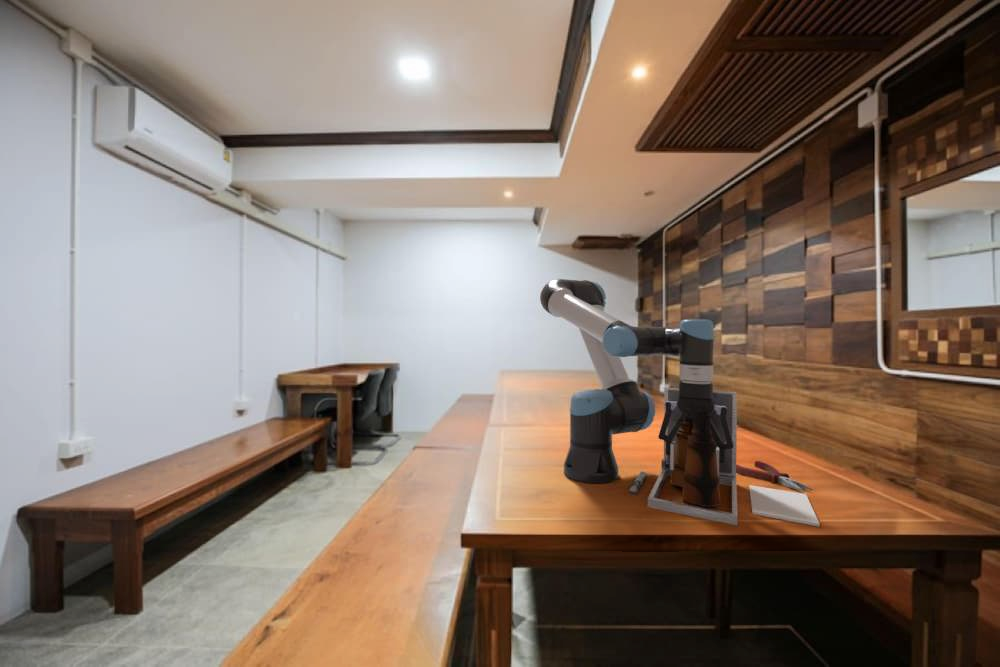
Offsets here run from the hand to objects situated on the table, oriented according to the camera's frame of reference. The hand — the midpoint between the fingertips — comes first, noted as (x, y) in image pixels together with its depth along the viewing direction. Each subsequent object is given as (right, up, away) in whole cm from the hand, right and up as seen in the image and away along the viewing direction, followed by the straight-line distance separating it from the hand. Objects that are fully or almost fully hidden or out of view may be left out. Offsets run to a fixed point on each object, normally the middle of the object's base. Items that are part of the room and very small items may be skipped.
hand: (694, 471), depth 103 cm
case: (0, -6, 0) cm, 6 cm away
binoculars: (0, -5, 0) cm, 5 cm away
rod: (-12, -6, +6) cm, 15 cm away
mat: (+18, -6, -5) cm, 20 cm away
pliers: (+25, -7, +12) cm, 29 cm away
